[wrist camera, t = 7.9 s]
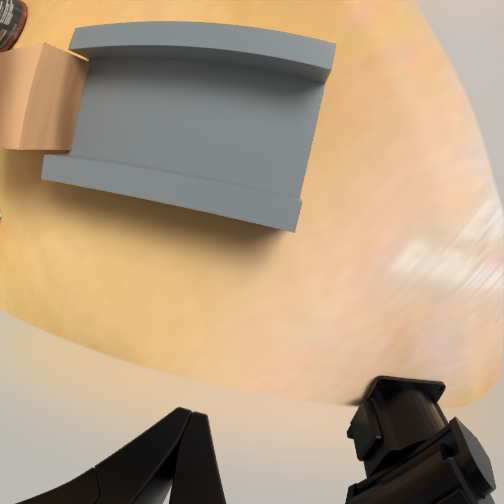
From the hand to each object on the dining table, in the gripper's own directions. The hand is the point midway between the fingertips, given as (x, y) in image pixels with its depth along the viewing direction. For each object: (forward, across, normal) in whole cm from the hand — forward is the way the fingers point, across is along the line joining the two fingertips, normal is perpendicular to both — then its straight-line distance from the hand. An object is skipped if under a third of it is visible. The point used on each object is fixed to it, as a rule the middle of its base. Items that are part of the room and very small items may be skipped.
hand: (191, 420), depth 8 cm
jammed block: (+11, +16, -9) cm, 21 cm away
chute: (+12, +6, -9) cm, 16 cm away
